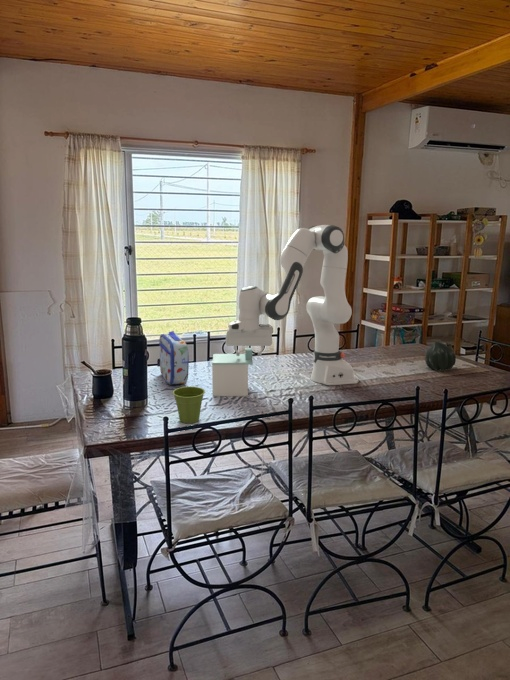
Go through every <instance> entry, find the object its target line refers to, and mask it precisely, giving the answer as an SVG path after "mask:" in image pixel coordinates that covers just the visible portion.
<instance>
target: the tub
mask: <svg viewBox="0 0 510 680" xmlns="http://www.w3.org/2000/svg"><path fill="white" fill-rule="evenodd" d="M211 368H212V371H211V372H212V373H211V375H212V377H211V378H212V397H248V396H249V388H248V387H249V365H211Z"/></svg>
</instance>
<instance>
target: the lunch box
mask: <svg viewBox="0 0 510 680" xmlns="http://www.w3.org/2000/svg"><path fill="white" fill-rule="evenodd" d="M158 341H159V342H158V344H159V358H157V362H156V364H157V367H158V368H159V367H160V368H159V369H160V374H161V376H162V377H163V379H164V381H165V382H166V383H167V384H169V385H181V384H186V383H187V382H188V379H189V367H190V365H189V364H190V359H189V357H190V355H189V349H188V345H187V343H186V341H185V340H183V339H182V337H180V336H179V335H178V334H177V333H175V331H174V330H172V331H168V333H163V334H160V336H159V340H158Z"/></svg>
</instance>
